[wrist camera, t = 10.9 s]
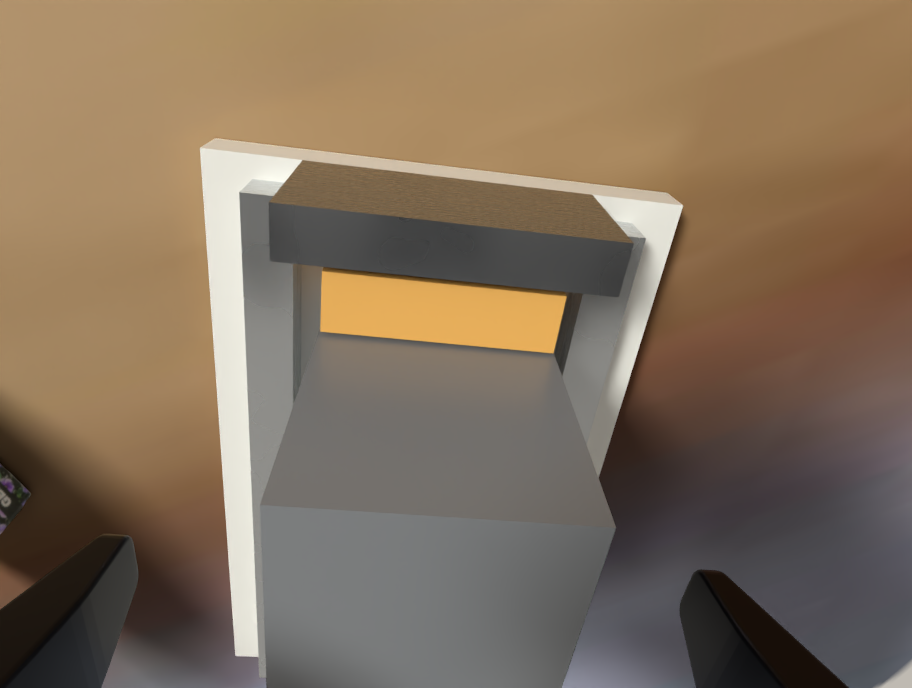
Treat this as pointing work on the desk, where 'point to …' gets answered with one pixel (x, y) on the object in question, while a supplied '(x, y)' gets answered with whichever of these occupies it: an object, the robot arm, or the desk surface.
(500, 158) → the desk surface
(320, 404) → the block
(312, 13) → the desk surface
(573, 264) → the rail plate
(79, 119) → the desk surface
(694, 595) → the robot arm
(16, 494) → the ink box
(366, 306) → the bar
